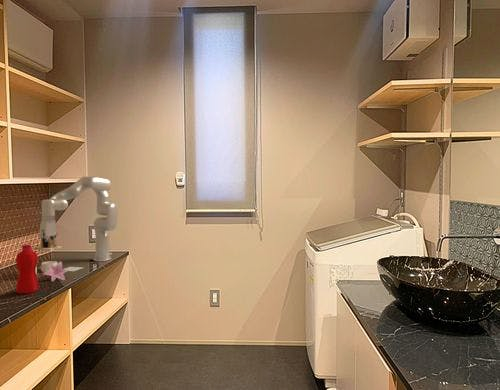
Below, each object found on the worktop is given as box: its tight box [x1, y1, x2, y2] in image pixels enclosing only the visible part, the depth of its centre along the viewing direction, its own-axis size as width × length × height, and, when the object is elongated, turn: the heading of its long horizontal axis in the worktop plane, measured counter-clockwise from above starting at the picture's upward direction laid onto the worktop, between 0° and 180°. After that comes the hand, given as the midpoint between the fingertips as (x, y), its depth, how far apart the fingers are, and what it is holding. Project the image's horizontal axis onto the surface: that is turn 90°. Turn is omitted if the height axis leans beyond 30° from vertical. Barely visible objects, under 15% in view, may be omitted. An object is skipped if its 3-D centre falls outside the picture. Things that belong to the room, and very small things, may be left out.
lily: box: [43, 261, 69, 282], centre depth 237 cm, size 12×12×10 cm
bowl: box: [40, 260, 58, 273], centre depth 257 cm, size 9×9×6 cm
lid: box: [33, 238, 64, 251], centre depth 256 cm, size 12×12×5 cm
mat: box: [64, 266, 83, 272], centre depth 261 cm, size 11×11×1 cm
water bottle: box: [15, 244, 39, 294], centre depth 211 cm, size 9×11×25 cm
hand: (48, 246), depth 256 cm, fingers closed on lid, 5 cm apart
